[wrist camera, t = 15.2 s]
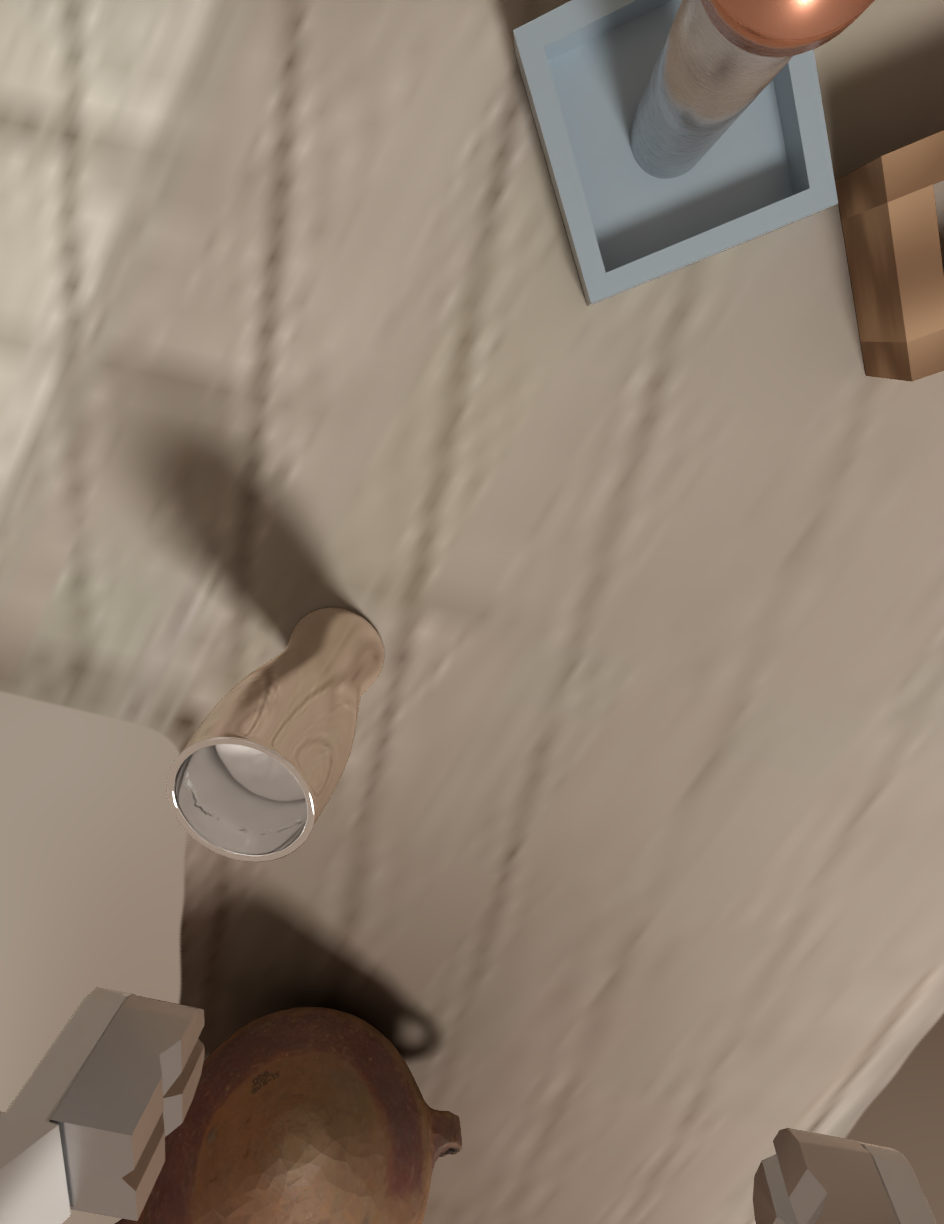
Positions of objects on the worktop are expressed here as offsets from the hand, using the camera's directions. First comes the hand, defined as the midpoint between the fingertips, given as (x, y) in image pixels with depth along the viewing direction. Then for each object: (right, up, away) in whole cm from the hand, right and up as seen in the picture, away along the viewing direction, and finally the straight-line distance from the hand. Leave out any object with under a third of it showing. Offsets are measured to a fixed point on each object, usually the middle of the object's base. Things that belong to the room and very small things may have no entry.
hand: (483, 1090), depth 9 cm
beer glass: (-9, +4, +33) cm, 35 cm away
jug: (-13, -35, +50) cm, 62 cm away
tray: (+9, +28, +21) cm, 37 cm away
